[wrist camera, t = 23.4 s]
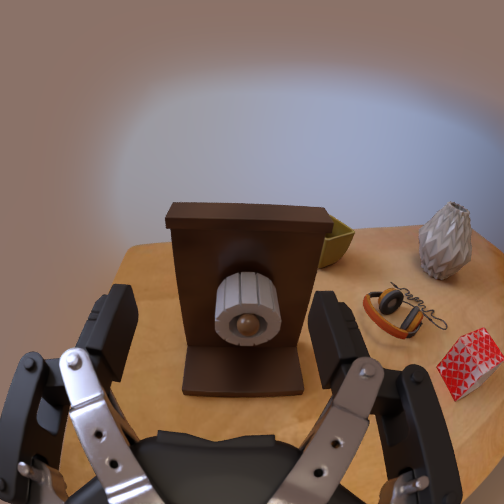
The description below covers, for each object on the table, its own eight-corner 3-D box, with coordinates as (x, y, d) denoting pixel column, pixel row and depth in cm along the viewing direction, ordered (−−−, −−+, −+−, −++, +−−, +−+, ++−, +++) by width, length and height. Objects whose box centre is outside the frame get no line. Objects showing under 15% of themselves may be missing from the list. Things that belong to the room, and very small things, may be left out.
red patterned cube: (461, 355, 36) (483, 327, 32) (479, 386, 30) (505, 359, 25) (435, 367, 35) (459, 336, 31) (454, 401, 29) (483, 374, 24)
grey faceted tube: (216, 345, 28) (213, 302, 25) (217, 314, 32) (216, 271, 29) (276, 345, 29) (285, 303, 25) (272, 314, 33) (278, 272, 29)
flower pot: (346, 266, 59) (356, 231, 54) (318, 277, 55) (327, 239, 50) (321, 246, 65) (328, 213, 60) (293, 255, 61) (299, 219, 56)
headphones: (457, 316, 41) (420, 341, 32) (443, 335, 44) (400, 366, 34) (404, 270, 54) (351, 276, 44) (394, 290, 56) (338, 300, 46)
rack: (183, 395, 32) (147, 253, 19) (190, 338, 40) (173, 200, 28) (302, 395, 33) (356, 258, 20) (292, 339, 41) (323, 205, 29)
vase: (419, 247, 69) (439, 189, 59) (463, 275, 58) (488, 216, 48) (398, 265, 60) (421, 196, 50) (449, 300, 50) (483, 230, 39)
